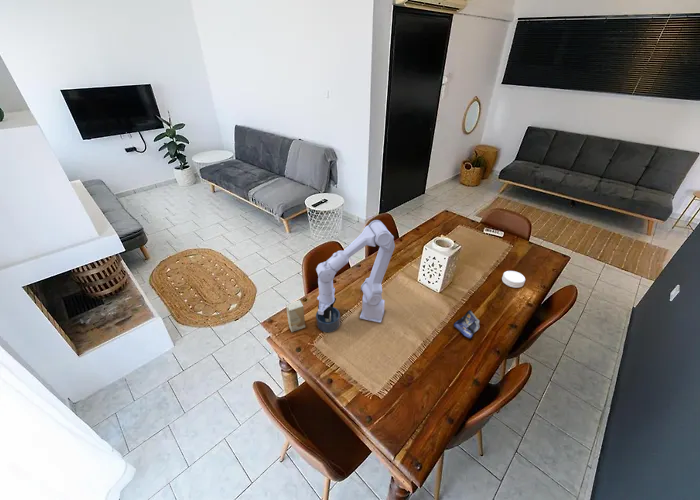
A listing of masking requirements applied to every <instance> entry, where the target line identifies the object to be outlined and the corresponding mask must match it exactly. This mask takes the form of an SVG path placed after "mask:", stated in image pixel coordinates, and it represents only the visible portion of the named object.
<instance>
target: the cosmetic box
mask: <svg viewBox="0 0 700 500" xmlns="http://www.w3.org/2000/svg"><path fill="white" fill-rule="evenodd" d="M285 309H286V316H287V323H288V327H289V330H290V331H291V333H294V332H296V331H299V330H302V329H305V328H306V321H305V319H306V318H305V310H304V309H305V308H304V304H303V302H302V300H301V299H298V300H295V301H292V302H288V303H286V304H285Z"/></svg>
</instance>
